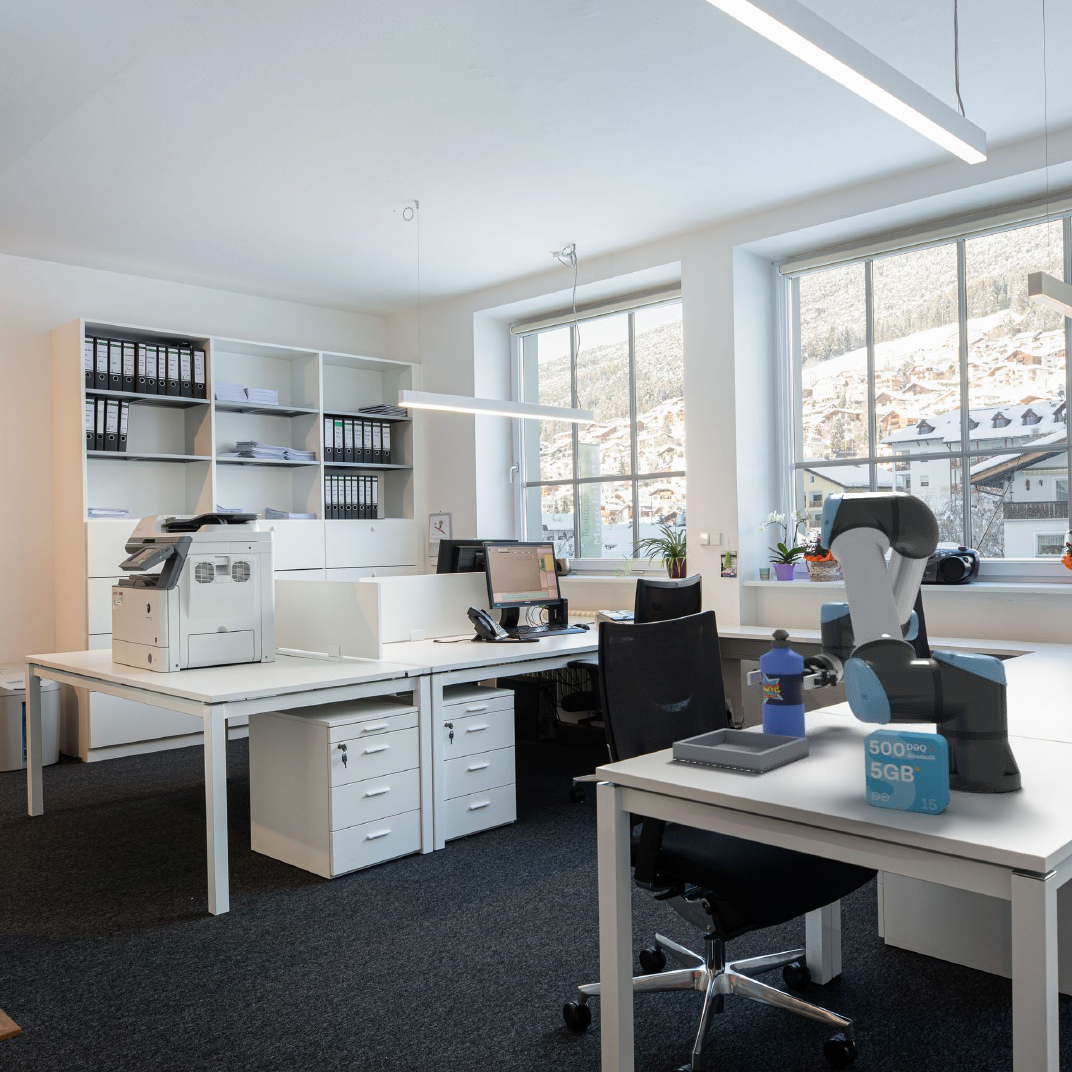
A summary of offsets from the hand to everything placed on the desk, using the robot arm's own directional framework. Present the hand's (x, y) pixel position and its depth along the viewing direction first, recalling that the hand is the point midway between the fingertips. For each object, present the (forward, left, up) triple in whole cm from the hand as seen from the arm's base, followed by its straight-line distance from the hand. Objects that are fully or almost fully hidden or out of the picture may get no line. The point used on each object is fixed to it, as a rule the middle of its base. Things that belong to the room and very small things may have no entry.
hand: (776, 681), depth 203 cm
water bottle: (+2, -1, -14) cm, 14 cm away
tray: (-14, +8, -14) cm, 21 cm away
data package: (-49, -19, -14) cm, 54 cm away
